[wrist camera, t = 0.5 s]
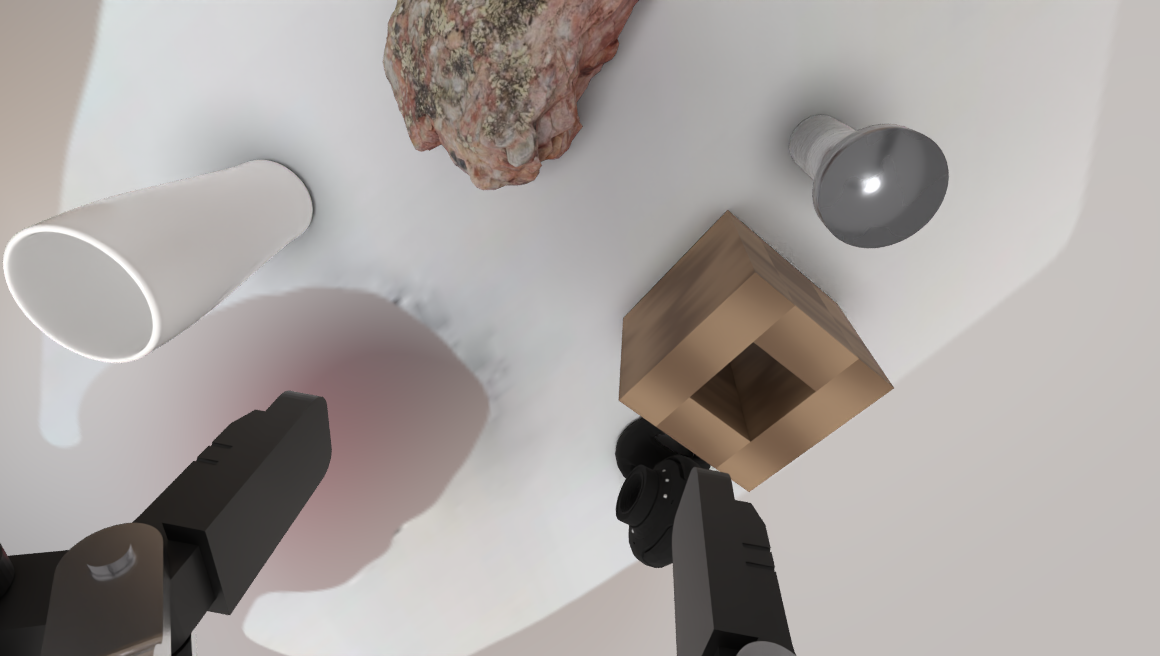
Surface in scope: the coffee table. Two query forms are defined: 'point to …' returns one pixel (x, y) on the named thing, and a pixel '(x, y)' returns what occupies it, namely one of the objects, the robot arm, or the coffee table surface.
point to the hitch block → (743, 357)
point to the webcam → (651, 491)
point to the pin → (870, 179)
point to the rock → (498, 77)
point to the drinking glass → (152, 257)
